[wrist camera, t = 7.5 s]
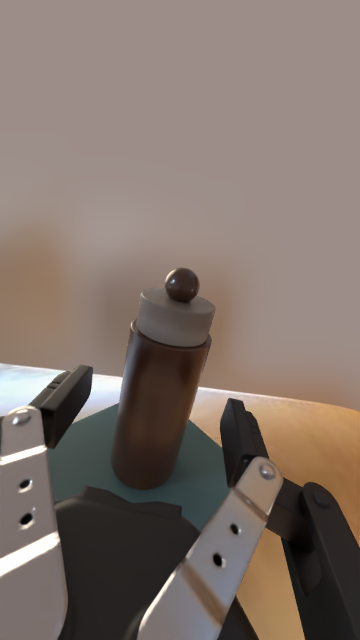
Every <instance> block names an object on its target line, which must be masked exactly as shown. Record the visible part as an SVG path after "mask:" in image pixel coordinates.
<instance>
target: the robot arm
mask: <svg viewBox="0 0 360 640" xmlns="http://www.w3.org/2000/svg"><path fill="white" fill-rule="evenodd" d="M92 375H93V368H92V367H90V366H86V365H81V364H79V365H78V366H76V368H75V369H74V370H73V371H72V372H70V371H65V372H63V373H61V374H59V375H58V376H57V377H56V378H55V379H54V380H53V381H52V383H50V384H49V385H48V386H47V388H45V389H44V390H43V391H42V392H41V393H40V394H39V395H38V396H37V397H36V398H35V399H34V400H33V401H32V402H31V403H30V404H29V405H28V406H24V407H19V408H16V409H14V410H12V411H10V412H9V413H8V414H7V415H6V416H2V417H0V640H259V638H258V636H257V635H256V633H255V631H254V629H253V627H252V625H251V623H250V622H249V620H248V618H247V616H246V614H245V612H244V610H243V608H242V607H241V605H240V603H239V601H238V599H237V597H236V592H237V590H238V588H239V585H240V583H241V581H242V578H243V576H244V574H245V572H246V569H247V567H248V565H249V562H250V560H251V558H252V555H253V553H254V551H255V549H256V546H257V544H258V542H259V539H260V537H261V535H262V532H263V530H264V528H265V527H266V528H267V529H269V530H271V531H272V532H274V533H276V534H277V535H279V536H281V540H282V545H283V549H284V553H285V557H286V561H287V565H288V570H289V574H290V578H291V582H292V586H293V590H294V595H295V599H296V603H297V607H298V611H299V615H300V620H301V624H302V628H303V632H304V636H305V640H360V547H359V545H358V543H357V541H356V539H355V537H354V535H353V533H352V531H351V529H350V527H349V525H348V523H347V521H346V519H345V517H344V515H343V513H342V511H341V509H340V507H339V505H338V503H337V501H336V499H335V498H334V497H333V496H332V494H331V493H330V492H329V491H327V490H326V489H325V488H324V487H322V486H321V485H319V484H317V483H313V482H308V483H306V484H305V485H304V486H303V487H301V486H299V485H297V484H295V483H293V482H291V481H289V480H287V479H286V478H284V477H283V475H282V473H281V471H280V469H279V468H278V467H277V465H276V464H275V463H273V462H272V461H271V460H270V459H269V456H268V453H267V450H266V447H265V444H264V441H263V438H262V436H261V432H260V429H259V426H258V423H257V420H256V419H255V417H254V416H253V415H252V413H251V412H249V411H246V410H245V407H244V403H243V401H241V400H237V399H232V398H229V399H228V401H227V404H226V406H225V409H224V412H223V415H222V418H221V422H220V433H221V441H222V449H223V457H224V464H225V472H226V480H227V488H231V490H230V491H229V493H228V494H227V496H226V497H225V499H224V500H223V502H222V503H221V505H220V506H219V507H218V509H217V510H216V512H215V513H214V515H213V516H212V518H211V519H210V521H209V522H208V524H207V525H206V527H205V528H204V530H203V531H202V533H201V532H200V531H199V530H198V529H197V528H196V526H195V525H194V524H192V523H191V522H190V521H189V520H188V519H186V518H185V517H183V516H182V506H179V505H174V504H169V503H165V502H160V501H153V502H141V503H131V502H129V501H127V500H125V499H123V498H121V497H120V496H118V495H116V494H114V493H112V492H111V491H109V490H104V489H100V488H95V487H90V486H86V485H85V486H84V488H83V490H82V492H81V494H77V495H72V496H68V497H65V498H62V499H60V500H58V501H56V502H54V497H53V490H52V482H51V474H50V467H49V459H48V452H47V448H50V449H55V448H56V446H57V445H58V443H59V442H60V440H61V439H62V437H63V436H64V434H65V433H66V431H67V430H68V428H69V427H70V425H71V424H72V422H73V421H74V419H75V418H76V416H77V415H78V413H79V412H80V410H81V409H82V407H83V406H84V404H85V403H86V401H87V400H88V398H89V395H90V392H91V386H92Z"/></svg>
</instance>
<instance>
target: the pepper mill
mask: <svg viewBox="0 0 360 640" xmlns="http://www.w3.org/2000/svg"><path fill="white" fill-rule="evenodd" d="M199 286H200V285H199V280H198V277H197V275H196V274H195V273H194V272H193V271H191V270H190V269H187V268H177V269H174V270H173V271H171V272H170V273H169V274H168V276H167V277H166V280H165V288H149V289H145V290H143V291H142V293H141V298H140V304H139V310H138V316H137V318H136V319H134V321H133V322H132V323H131V328H130V335H129V341H128V347H127V354H126V361H125V367H124V374H123V380H122V387H121V393H120V400H119V407H118V413H117V420H116V426H115V433H114V439H113V446H112V453H111V465H112V469H113V471H114V473H115V475H116V476H117V478H118V479H119V480H120V481H121V482H122V483H124V484H125V485H127V486H129V487H131V488H134V489H139V490H148V489H153V488H156V487H158V486H160V485H162V484H163V483H164V482H166V481H167V480H168V479H169V477H170V476H171V474H172V473H173V470H174V467H175V464H176V461H177V457H178V454H179V451H180V447H181V444H182V440H183V437H184V434H185V430H186V427H187V423H188V420H189V417H190V413H191V410H192V406H193V403H194V400H195V396H196V393H197V389H198V386H199V383H200V379H201V376H202V373H203V369H204V366H205V362H206V359H207V355H208V352H209V349H210V345H211V341H212V340H211V336H210V334H209V331H210V327H211V323H212V320H213V316H214V313H215V306H214V305H213V304H212V303H211V302H209V301H208V300H206V299H204V298H202V297H199V296H197V293H198V291H199Z"/></svg>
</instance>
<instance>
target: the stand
mask: <svg viewBox="0 0 360 640" xmlns="http://www.w3.org/2000/svg"><path fill="white" fill-rule="evenodd" d="M118 407H119V403H118V404H116V405H113V406H111V407H109V408H106V409H104V410H102V411H100V412H97V413H95V414H93V415H91V416H88V417H86V418H84V419H82V420H79V421H77V422H75V423H73V424H71V425H70V427H69V428H68V430H67V431H66V433H65V434H64V436H63V437H62V439H61V440H60V442H59V443H58V445H57V446H56V448H55V449H50V448H47V452H48V459H49V467H50V474H51V482H52V490H53V497H54V502H56V501H58V500H60V499H62V498H65V497H68V496H72V495H77V494H81V492H82V490H83V488H84V486H85V485H86V486H90V487H95V488H100V489H104V490H109V491H111V492H112V493H114V494H116V495H118V496H120V497H121V498H123V499H125V500H127V501H129V502H131V503H141V502H153V501H160V502H165V503H169V504H174V505H179V506H182V516H183V517H185V518H186V519H188V520H189V521H190V522H191V523H192V524H194V525H195V526H196V528H197V529H198V530H199V531H200V532H201V533H202V531H203V530H204V528H205V527H206V525H207V524H208V522H209V521H210V519H211V518H212V516H213V515H214V513H215V512H216V510H217V509H218V507H219V506H220V505H221V503H222V502H223V500H224V499H225V497H226V496H227V494H228V493H229V491H230V490H231V488H227V480H226V472H225V464H224V457H223V449H222V448H221V447H220V446H219V445H218V444H216V443H215V442H214V441H213V440H212V439H211V438H210V437H208V436H207V435H206V434H205V433H204V432H203V431H202V430H200V429H199V428H198V427H197V426H196V425H195V424H194V423H193V422H191V421H190V420H188V423H187V427H186V430H185V434H184V437H183V440H182V444H181V447H180V451H179V454H178V457H177V461H176V464H175V467H174V470H173V473H172V474H171V476H170V477H169V479H168V480H167V481H166V482H164V483H163V484H162V485H160V486H158V487H156V488H153V489H148V490H139V489H134V488H131V487H129V486H127V485H125V484H124V483H122V482H121V481H120V480H119V479H118V478H117V476H116V475H115V473H114V471H113V469H112V465H111V453H112V446H113V439H114V433H115V426H116V420H117V413H118Z"/></svg>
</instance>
